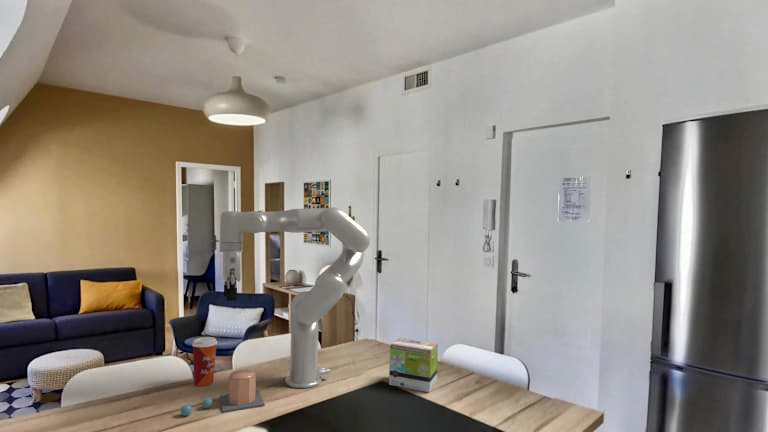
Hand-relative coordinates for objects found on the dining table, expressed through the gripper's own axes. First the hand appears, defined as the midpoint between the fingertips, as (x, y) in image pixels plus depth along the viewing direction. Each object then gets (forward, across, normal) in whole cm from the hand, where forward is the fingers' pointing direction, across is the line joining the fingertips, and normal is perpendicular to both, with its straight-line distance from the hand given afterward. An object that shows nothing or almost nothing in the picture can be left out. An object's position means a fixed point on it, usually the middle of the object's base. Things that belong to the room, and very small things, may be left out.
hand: (230, 298), depth 143 cm
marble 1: (+28, -18, +13) cm, 35 cm away
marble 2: (+28, -15, +6) cm, 32 cm away
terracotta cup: (+30, -13, -3) cm, 33 cm away
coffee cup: (+31, +8, +7) cm, 32 cm away
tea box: (+31, -21, -60) cm, 71 cm away
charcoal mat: (+30, -13, -3) cm, 33 cm away
